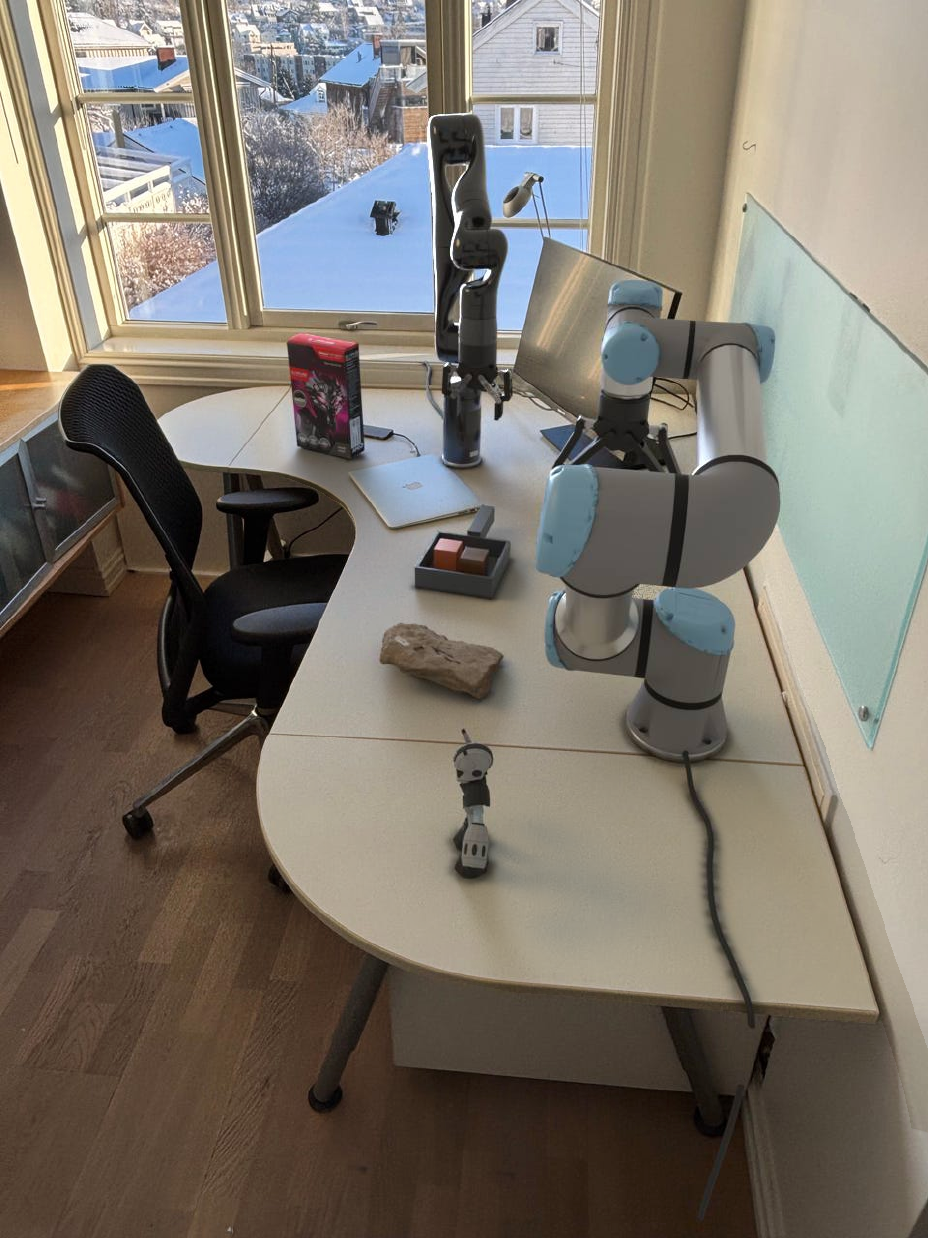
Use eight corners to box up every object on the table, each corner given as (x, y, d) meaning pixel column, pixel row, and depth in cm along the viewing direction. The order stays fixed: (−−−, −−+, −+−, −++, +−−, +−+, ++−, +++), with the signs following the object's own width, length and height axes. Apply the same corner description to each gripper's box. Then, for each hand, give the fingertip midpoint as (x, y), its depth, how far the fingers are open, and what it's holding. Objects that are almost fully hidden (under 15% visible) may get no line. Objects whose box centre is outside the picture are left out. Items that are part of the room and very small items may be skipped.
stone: (355, 671, 149) (362, 639, 147) (387, 639, 163) (394, 609, 160) (477, 715, 146) (486, 682, 144) (499, 678, 159) (507, 648, 157)
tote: (491, 599, 174) (492, 574, 171) (415, 587, 177) (414, 563, 174) (522, 533, 196) (523, 510, 193) (453, 523, 199) (453, 500, 196)
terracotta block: (456, 579, 179) (456, 552, 176) (434, 575, 180) (433, 548, 177) (462, 567, 183) (462, 541, 179) (440, 564, 184) (440, 538, 180)
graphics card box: (294, 447, 232) (283, 339, 217) (310, 437, 237) (301, 331, 222) (351, 461, 225) (344, 350, 210) (367, 450, 230) (361, 342, 215)
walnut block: (482, 588, 176) (483, 561, 173) (460, 585, 177) (460, 558, 174) (488, 576, 180) (489, 549, 176) (466, 573, 181) (466, 546, 177)
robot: (495, 914, 114) (500, 797, 103) (456, 915, 114) (456, 798, 103) (484, 799, 130) (487, 688, 119) (450, 801, 130) (450, 689, 119)
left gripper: (517, 335, 181) (514, 414, 190) (448, 329, 184) (448, 407, 193) (509, 347, 175) (506, 427, 184) (437, 340, 178) (438, 420, 187)
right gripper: (712, 390, 137) (691, 517, 149) (547, 374, 143) (540, 498, 154) (709, 408, 131) (688, 539, 143) (538, 390, 137) (531, 518, 148)
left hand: (476, 417), depth 189 cm, fingers open, 8 cm apart
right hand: (611, 518), depth 149 cm, fingers open, 13 cm apart
